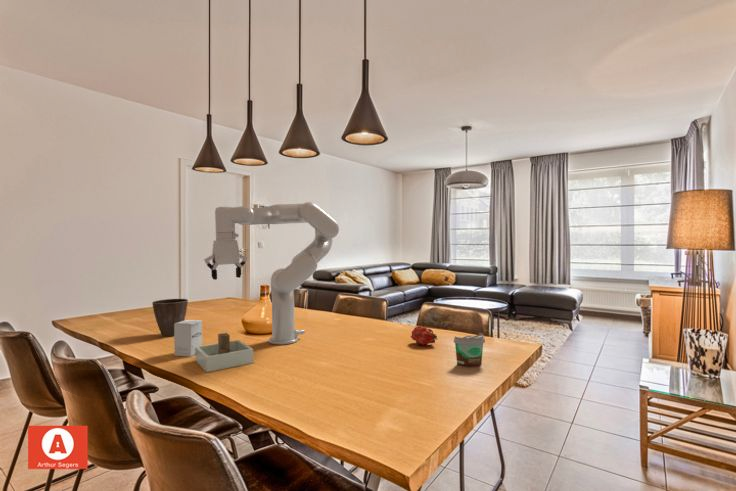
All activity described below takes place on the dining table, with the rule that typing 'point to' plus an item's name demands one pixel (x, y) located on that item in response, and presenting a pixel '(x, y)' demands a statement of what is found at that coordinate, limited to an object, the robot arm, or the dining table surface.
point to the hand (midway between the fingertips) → (226, 278)
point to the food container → (469, 350)
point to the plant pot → (169, 314)
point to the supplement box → (187, 337)
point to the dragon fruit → (423, 335)
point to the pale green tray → (223, 356)
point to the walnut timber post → (223, 343)
